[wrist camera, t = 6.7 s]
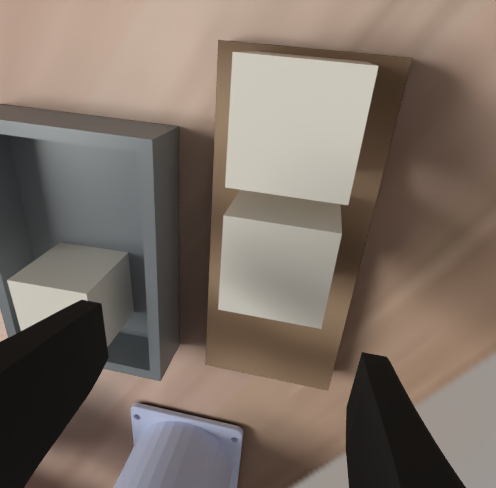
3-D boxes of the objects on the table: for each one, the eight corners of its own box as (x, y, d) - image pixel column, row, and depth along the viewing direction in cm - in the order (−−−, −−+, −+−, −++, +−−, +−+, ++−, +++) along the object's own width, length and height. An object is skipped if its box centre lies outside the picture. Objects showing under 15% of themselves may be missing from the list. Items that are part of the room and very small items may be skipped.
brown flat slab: (328, 370, 22) (328, 390, 21) (212, 346, 23) (205, 364, 22) (405, 57, 15) (412, 58, 13) (227, 40, 16) (218, 40, 14)
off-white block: (344, 170, 16) (348, 205, 12) (248, 157, 16) (225, 187, 13) (366, 61, 14) (378, 65, 10) (256, 51, 14) (232, 51, 11)
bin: (179, 344, 24) (160, 381, 21) (45, 316, 25) (11, 348, 22) (179, 126, 18) (152, 139, 15) (0, 104, 19) (-54, 112, 16)
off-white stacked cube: (323, 274, 18) (321, 329, 14) (239, 260, 18) (218, 309, 15) (340, 193, 16) (341, 233, 13) (246, 180, 17) (223, 215, 13)
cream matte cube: (134, 311, 22) (97, 360, 19) (71, 301, 23) (25, 346, 20) (128, 252, 21) (86, 293, 17) (60, 242, 21) (6, 279, 18)
